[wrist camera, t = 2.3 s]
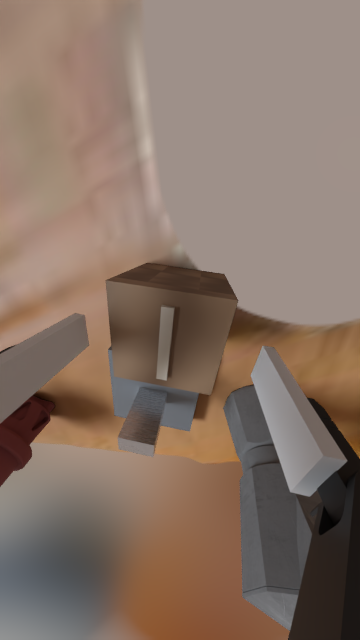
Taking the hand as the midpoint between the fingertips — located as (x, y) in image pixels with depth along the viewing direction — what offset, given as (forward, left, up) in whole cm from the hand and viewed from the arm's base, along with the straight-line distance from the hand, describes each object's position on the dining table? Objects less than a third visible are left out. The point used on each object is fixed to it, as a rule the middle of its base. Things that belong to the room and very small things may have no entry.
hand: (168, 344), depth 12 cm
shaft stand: (+13, -2, -7) cm, 15 cm away
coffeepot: (+14, +13, -8) cm, 21 cm away
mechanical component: (+24, -24, -8) cm, 35 cm away
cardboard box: (0, 0, -7) cm, 7 cm away
